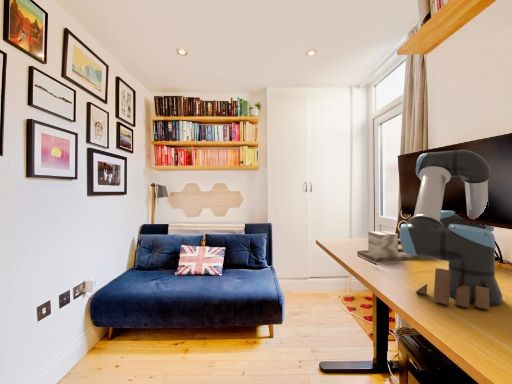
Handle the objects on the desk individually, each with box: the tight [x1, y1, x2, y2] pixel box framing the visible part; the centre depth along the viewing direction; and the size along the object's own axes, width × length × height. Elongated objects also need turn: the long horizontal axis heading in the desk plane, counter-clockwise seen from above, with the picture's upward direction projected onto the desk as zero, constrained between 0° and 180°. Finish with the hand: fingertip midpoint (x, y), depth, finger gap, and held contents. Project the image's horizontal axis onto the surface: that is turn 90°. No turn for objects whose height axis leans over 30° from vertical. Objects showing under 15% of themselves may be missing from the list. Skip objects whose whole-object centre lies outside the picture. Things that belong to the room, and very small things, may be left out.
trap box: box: [356, 247, 430, 266], centre depth 126 cm, size 44×15×3 cm, turn 100°
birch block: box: [367, 230, 399, 258], centre depth 124 cm, size 10×9×12 cm
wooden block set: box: [415, 268, 490, 311], centre depth 77 cm, size 18×9×10 cm, turn 53°
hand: (391, 242), depth 125 cm, fingers closed
